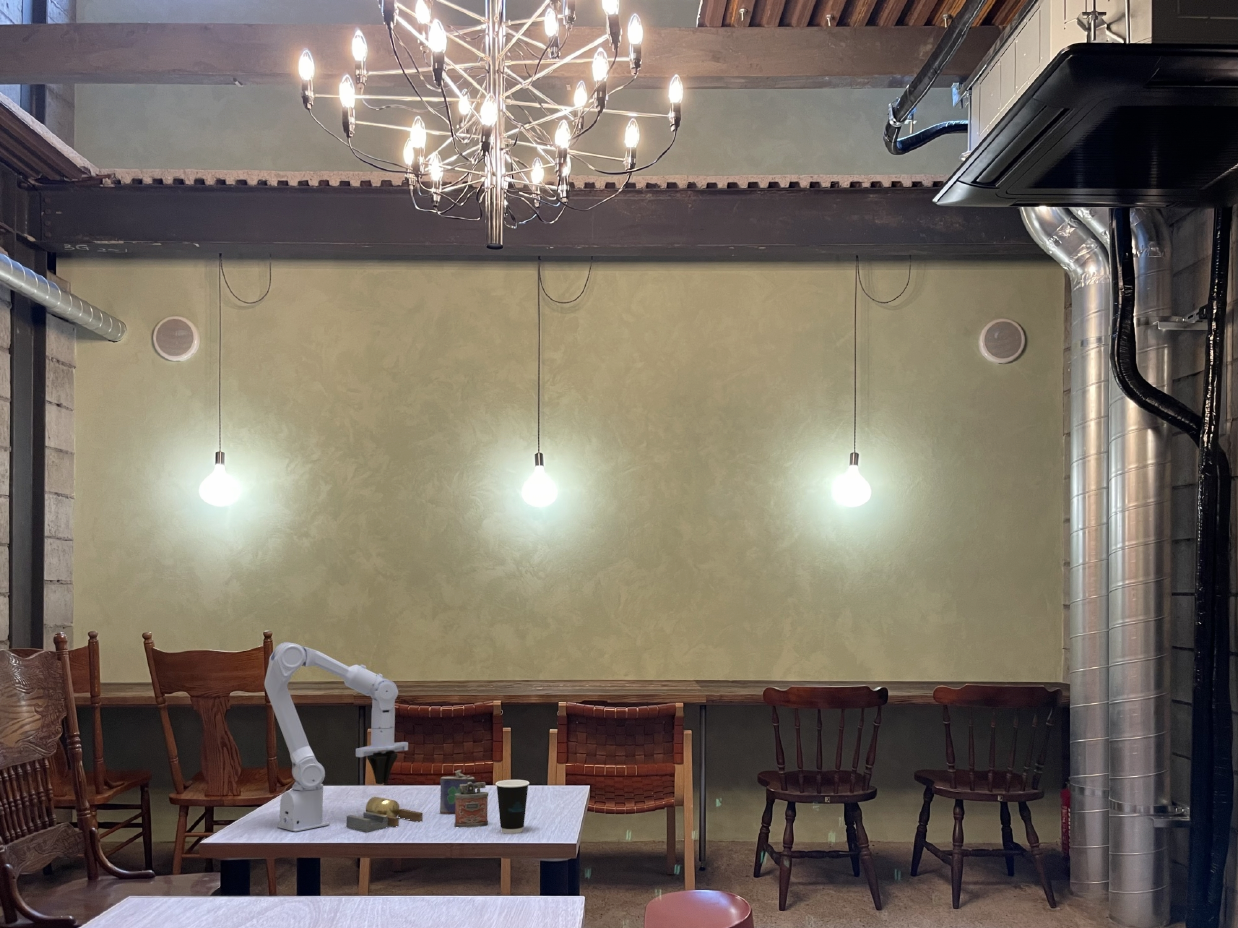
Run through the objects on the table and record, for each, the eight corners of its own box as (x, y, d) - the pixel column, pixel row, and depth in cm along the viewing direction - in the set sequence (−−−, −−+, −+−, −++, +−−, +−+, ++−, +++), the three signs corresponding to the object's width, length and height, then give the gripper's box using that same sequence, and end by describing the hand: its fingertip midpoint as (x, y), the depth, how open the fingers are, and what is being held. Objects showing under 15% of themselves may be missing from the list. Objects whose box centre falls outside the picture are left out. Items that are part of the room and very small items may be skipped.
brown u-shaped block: (394, 827, 239) (394, 818, 240) (374, 822, 244) (374, 814, 245) (422, 821, 246) (422, 812, 246) (402, 816, 251) (402, 808, 251)
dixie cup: (516, 836, 229) (516, 786, 231) (488, 832, 233) (488, 783, 234) (535, 829, 236) (535, 781, 238) (507, 825, 240) (508, 778, 241)
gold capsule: (400, 817, 249) (398, 797, 249) (383, 823, 245) (382, 803, 245) (383, 813, 253) (381, 794, 253) (366, 819, 249) (364, 799, 250)
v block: (366, 832, 234) (366, 820, 235) (346, 827, 240) (346, 815, 240) (387, 827, 239) (387, 815, 239) (367, 822, 244) (367, 811, 244)
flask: (438, 814, 254) (439, 770, 255) (442, 811, 257) (443, 768, 258) (473, 815, 252) (474, 771, 253) (477, 812, 255) (477, 769, 256)
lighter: (455, 828, 238) (455, 784, 239) (453, 825, 241) (454, 782, 243) (489, 825, 240) (489, 782, 241) (487, 822, 243) (487, 780, 245)
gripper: (368, 731, 244) (367, 789, 243) (416, 725, 255) (415, 780, 254) (351, 729, 249) (349, 785, 247) (398, 723, 260) (397, 777, 258)
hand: (381, 783), depth 251 cm, fingers closed
